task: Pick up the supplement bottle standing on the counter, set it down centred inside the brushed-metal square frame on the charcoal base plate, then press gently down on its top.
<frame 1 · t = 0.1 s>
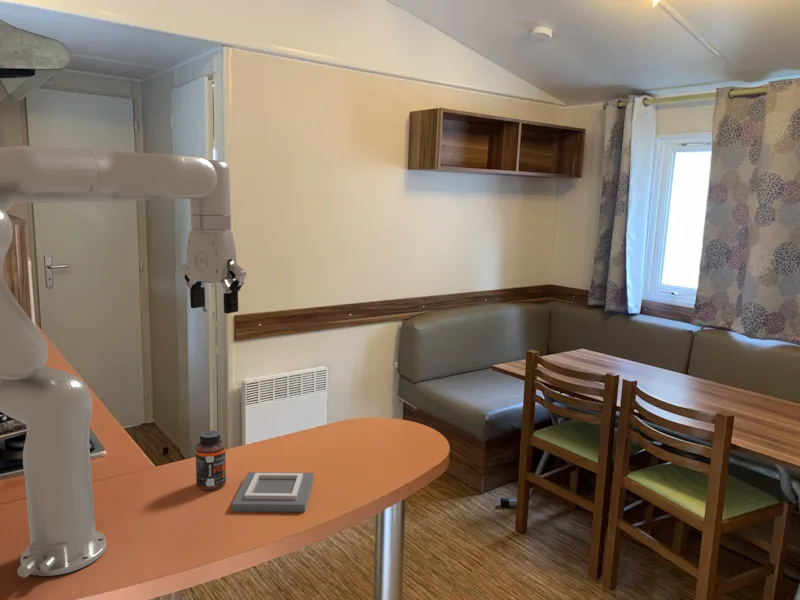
hand: (214, 309, 124), 37 cm above the counter, tool pointing down, fingers open, 9 cm apart
socket plate: (275, 494, 126), on the counter
supplement bottle: (211, 486, 129), on the counter
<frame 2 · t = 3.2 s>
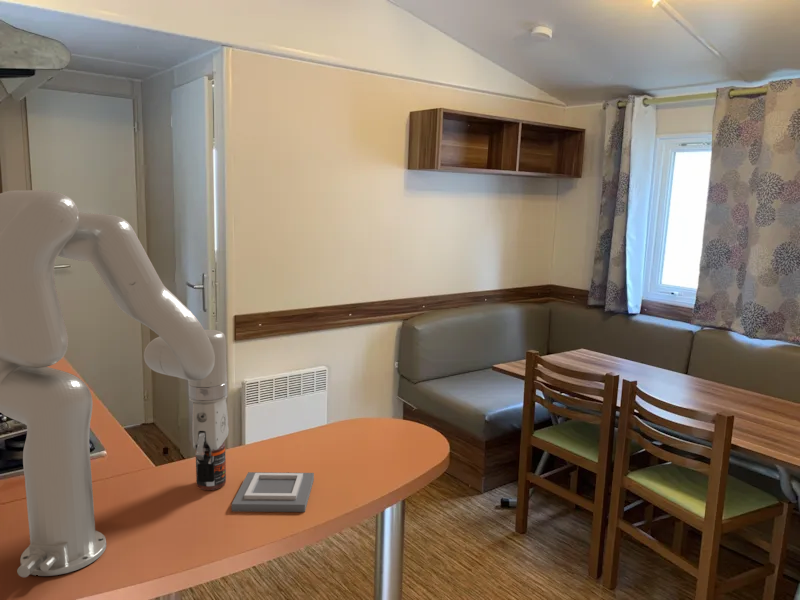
hand: (211, 473, 129), 3 cm above the counter, tool pointing down, fingers closed on supplement bottle, 6 cm apart
supplement bottle: (211, 485, 129), on the counter, touching gripper
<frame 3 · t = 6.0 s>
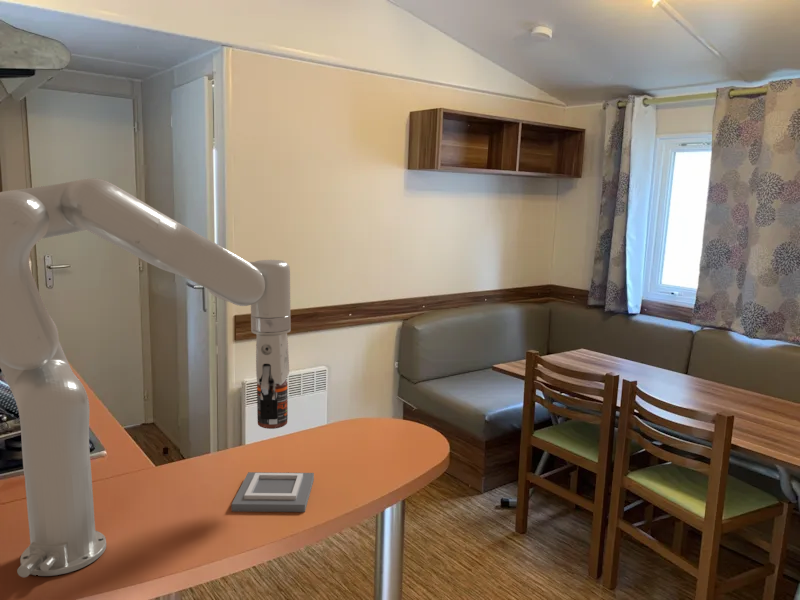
hand: (272, 412, 123), 17 cm above the counter, tool pointing down, fingers closed on supplement bottle, 6 cm apart
supplement bottle: (272, 425, 123), point 15 cm above the counter, touching gripper
when the fingers open (5 cm above the counter, at t = 8.7 s): supplement bottle drops 1 cm, resting on socket plate.
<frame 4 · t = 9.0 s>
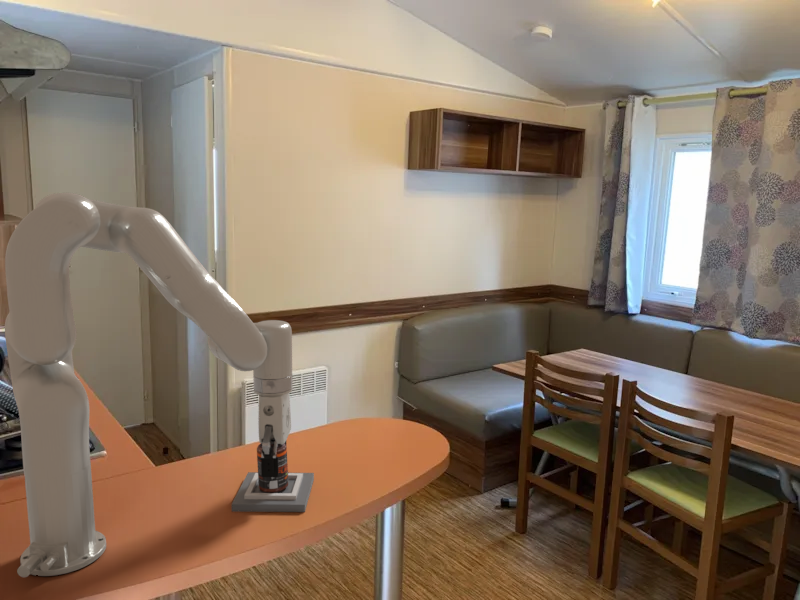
hand: (274, 466, 125), 6 cm above the counter, tool pointing down, fingers open, 8 cm apart
supplement bottle: (273, 488, 125), point 1 cm above the counter, touching socket plate
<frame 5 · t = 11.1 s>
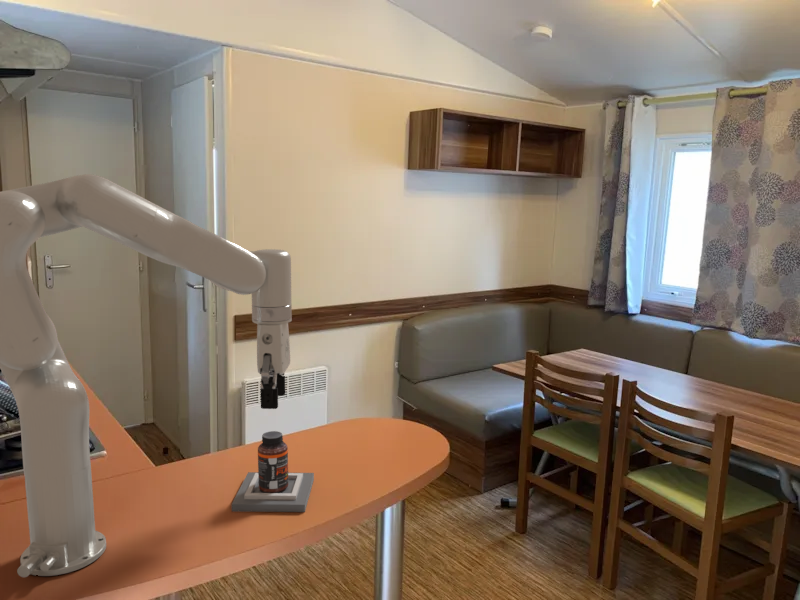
hand: (273, 400, 122), 20 cm above the counter, tool pointing down, fingers open, 7 cm apart
nothing on the counter moved.
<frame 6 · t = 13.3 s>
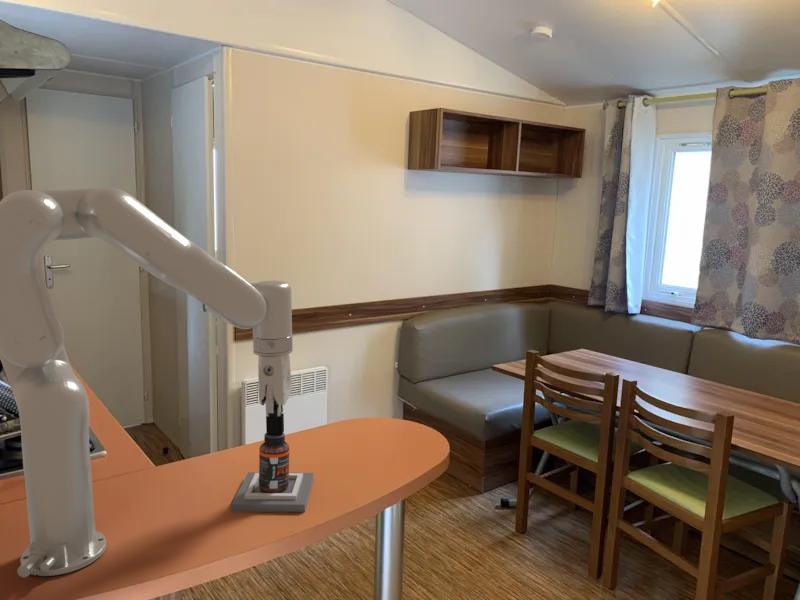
hand: (275, 433, 124), 13 cm above the counter, tool pointing down, fingers closed
supplement bottle: (273, 488, 125), point 1 cm above the counter, touching gripper, socket plate
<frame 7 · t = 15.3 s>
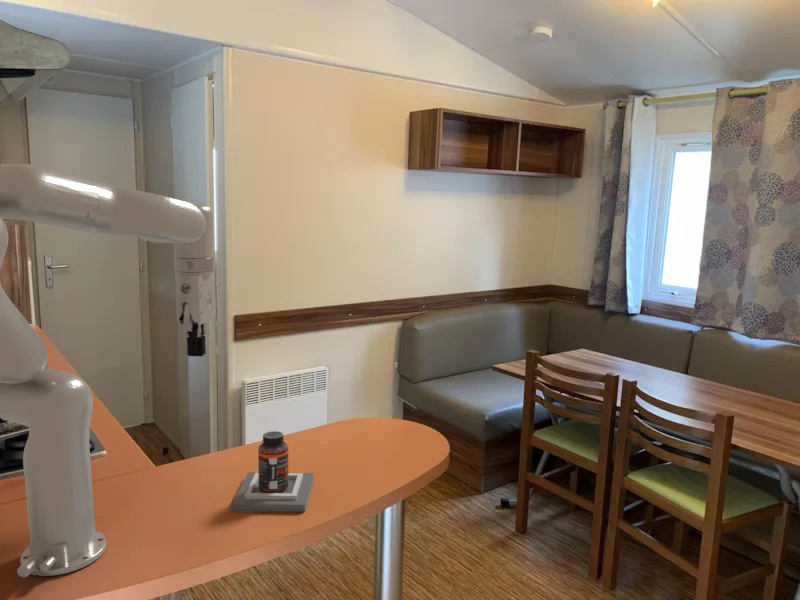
hand: (196, 355, 127), 27 cm above the counter, tool pointing down, fingers closed
supplement bottle: (273, 488, 125), point 1 cm above the counter, touching socket plate
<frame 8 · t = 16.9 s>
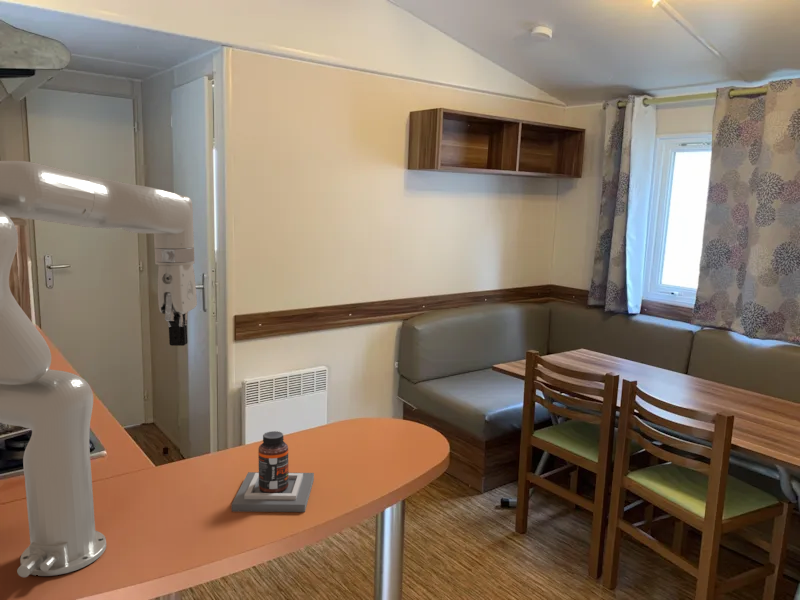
hand: (178, 344, 129), 29 cm above the counter, tool pointing down, fingers closed
nothing on the counter moved.
at the end: supplement bottle 0.2 cm off-centre on the socket plate, point 1.3 cm above the socket plate's base; supplement bottle tilted 0°; the gripper is holding nothing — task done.
